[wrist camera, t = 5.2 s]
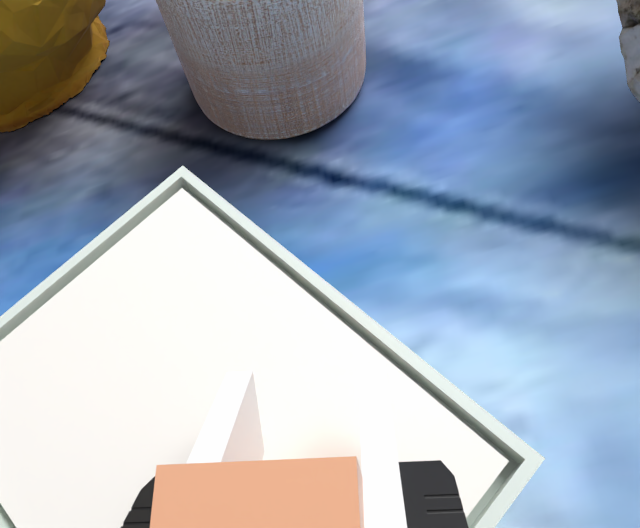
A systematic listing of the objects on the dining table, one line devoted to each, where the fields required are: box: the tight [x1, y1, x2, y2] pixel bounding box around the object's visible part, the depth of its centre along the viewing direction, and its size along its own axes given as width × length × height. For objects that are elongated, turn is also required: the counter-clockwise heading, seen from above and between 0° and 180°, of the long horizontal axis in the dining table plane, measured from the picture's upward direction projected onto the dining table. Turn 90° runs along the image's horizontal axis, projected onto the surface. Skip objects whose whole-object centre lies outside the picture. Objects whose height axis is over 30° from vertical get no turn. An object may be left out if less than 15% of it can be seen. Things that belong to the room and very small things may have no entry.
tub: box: [0, 166, 545, 528], centre depth 20 cm, size 17×13×7 cm
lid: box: [0, 188, 509, 528], centre depth 14 cm, size 16×12×10 cm
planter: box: [156, 0, 366, 140], centre depth 29 cm, size 11×11×10 cm
